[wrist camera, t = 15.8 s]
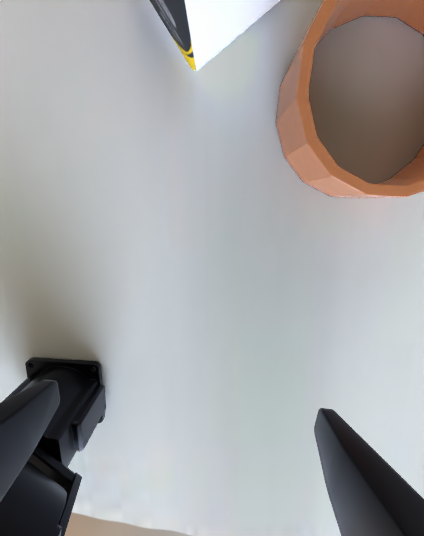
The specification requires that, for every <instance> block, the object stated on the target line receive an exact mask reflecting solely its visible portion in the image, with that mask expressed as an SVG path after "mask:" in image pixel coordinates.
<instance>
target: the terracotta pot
mask: <svg viewBox="0 0 424 536" xmlns="http://www.w3.org/2000/svg"><path fill="white" fill-rule="evenodd" d="M361 16H381V17H396V18H398V19H399V20H401V21H403V22H404V23H406V24H407V25H409V26H411V27H412V28H414V29H415V30H417V31H418V32H420V33H422V34H423V35H424V0H323V2H322V4H321V6H320V7H319V9H318V11H317V13H316V15H315V17H314V19H313V21H312V23H311V24H310V26H309V28H308V30H307V32H306V34H305V36H304V38H303V40H302V42H301V43H300V45H299V47H298V49H297V51H296V53H295V55H294V57H293V60H292V62H291V64H290V66H289V68H288V70H287V72H286V74H285V76H284V78H283V80H282V83H281V86H280V92H279V100H278V109H277V118H276V126H277V130H278V134H279V138H280V142H281V146H282V150H283V154H284V157H285V159H286V160H287V161H288V163H289V164H290V165H291V167H292V168H293V169H294V171H295V172H296V173H297V175H298V176H299V177H300V179H301V180H302V181H303V182H304V183H306V184H308V185H310V186H311V187H313V188H315V189H317V190H319V191H321V192H323V193H325V194H327V195H328V196H334V197H351V198H385V197H407V196H410V195H413V194H416V193H419V192H422V191H424V145H423V147H422V148H421V150H420V151H419V153H418V155H417V156H416V158H415V159H414V160H413V161H412V162H410V163H409V164H408V165H407V166H405V167H404V168H403V169H402V170H400V171H399V172H398V173H397V174H395V175H394V176H393V177H392V178H390V179H389V180H386V181H383V182H381V183H378V184H370V183H368V182H366V181H364V180H362V179H360V178H359V177H357V176H355V175H353V174H351V173H349V172H348V171H346V170H344V169H342V168H340V167H339V166H338V165H337V163H336V162H335V161H334V159H333V158H332V156H331V155H330V154H329V152H328V151H327V149H326V148H325V147H324V145H323V144H322V142H321V141H320V140H319V138H318V137H317V134H316V129H315V124H314V120H313V115H312V110H311V106H310V101H309V96H308V92H309V85H310V78H311V71H312V64H313V57H314V49H315V46H316V44H317V43H318V42H319V41H320V40H321V39H322V38H323V37H324V36H325V35H326V34H327V33H328V32H329V31H330V30H331V29H333V28H335V27H338V26H340V25H342V24H345V23H347V22H350V21H352V20H354V19H357V18H359V17H361Z"/></svg>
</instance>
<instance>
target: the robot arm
mask: <svg viewBox="0 0 424 536" xmlns="http://www.w3.org/2000/svg"><path fill="white" fill-rule="evenodd" d="M32 363H33V364H32ZM25 365H26V371H27V377H28V378H27V379H26V380H25V381H24V382H23V383H22V384H21V385H20V386H19V387H17V388H16V389H15V390H14V391H13V392H12V393H11V394H10V395H9V396H8V397H7V398H6V399H5V400H4V401H2V402H1V403H0V536H64V535H65V531H66V528H67V525H68V522H69V518H70V515H71V512H72V509H73V505H74V502H75V499H76V495H77V492H78V489H79V486H80V482H81V479H82V477H81V476H80V475H79V474H77V473H74V472H72V471H71V470H70V469H69V468H67V467H68V465H69V463H70V462H71V460H72V458H73V456H74V454H75V453H76V451H82V450H83V449H84V448H85V446H86V444H87V442H88V440H89V438H90V437H91V435H92V433H93V431H94V429H95V427H96V425H97V424H98V423H101V422H102V421H103V419H104V417H105V413H104V411H105V409H106V403H105V389H104V385H103V384H102V373H101V365H100V364H99V363H98V362H96V361H81V360H65V359H50V358H30V359H29V360H28V361H27V362H26V364H25ZM93 367H95V368H96V369H95V368H93ZM314 432H315V438H316V442H317V447H318V451H319V456H320V460H321V465H322V469H323V474H324V478H325V483H326V487H327V491H328V494H329V498H330V501H331V504H332V507H333V511H334V514H335V517H336V520H337V523H338V526H339V530H340V533H341V536H424V499H423V498H422V497H421V496H420V495H419V494H418V493H417V492H416V491H415V490H414V489H413V488H412V487H411V486H410V485H409V484H408V483H407V482H406V481H405V480H404V479H403V478H402V477H401V476H400V475H399V474H398V473H397V472H396V471H395V470H394V469H393V468H392V467H391V466H390V465H389V464H388V463H387V462H386V461H385V460H384V459H383V458H382V457H381V456H380V455H379V454H378V453H377V452H376V451H375V450H374V449H373V448H372V447H370V446H369V445H368V444H367V443H366V442H365V441H364V440H363V439H362V438H361V437H360V436H359V435H358V434H357V433H356V432H355V431H354V430H353V429H352V428H351V427H350V426H349V425H348V424H347V423H346V422H345V421H344V420H343V419H342V418H341V417H340V416H339V415H338V414H337V413H336V412H335V411H334V410H332V409H325V408H320V409H319V411H318V415H317V419H316V423H315V427H314Z"/></svg>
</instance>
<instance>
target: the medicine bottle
mask: <svg viewBox="0 0 424 536" xmlns="http://www.w3.org/2000/svg"><path fill="white" fill-rule="evenodd" d="M279 1H281V0H150V2H151V3H152V5H153V7H154V8H155V10H156V11H157V13H158V15H159V16H160V18H161V20H162V21H163V23H164V24H165V26H166V28H167V29H168V31H169V33H170V34H171V36H172V38H173V39H174V41H175V42H176V44H177V46H178V47H179V49H180V51H181V52H182V54H183V55H184V57H185V59H186V60H187V62H188V64H189V65H190V67H191V68H192V69H193V70H195V71H197V70H199V69H200V68H201V67H203V66H204V65H205V64H206V63H207V62H209V61H210V60H211V59H212V58H213V57H214V56H216V55H217V54H218V53H219V52H220V51H222V50H223V49H224V48H225V47H226V46H227V45H229V44H230V43H231V42H232V41H233V40H235V39H236V38H237V37H238V36H239V35H240V34H242V33H243V32H244V31H245V30H246V29H247V28H249V27H250V26H251V25H252V24H253V23H255V22H256V21H257V20H258V19H259V18H260V17H262V16H263V15H264V14H265V13H266V12H268V11H269V10H270V9H271V8H272V7H273V6H275V5H276V4H277V3H278V2H279Z"/></svg>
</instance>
